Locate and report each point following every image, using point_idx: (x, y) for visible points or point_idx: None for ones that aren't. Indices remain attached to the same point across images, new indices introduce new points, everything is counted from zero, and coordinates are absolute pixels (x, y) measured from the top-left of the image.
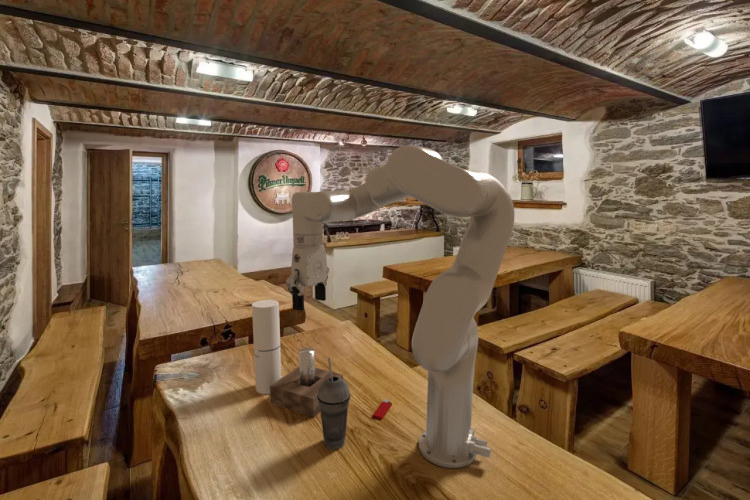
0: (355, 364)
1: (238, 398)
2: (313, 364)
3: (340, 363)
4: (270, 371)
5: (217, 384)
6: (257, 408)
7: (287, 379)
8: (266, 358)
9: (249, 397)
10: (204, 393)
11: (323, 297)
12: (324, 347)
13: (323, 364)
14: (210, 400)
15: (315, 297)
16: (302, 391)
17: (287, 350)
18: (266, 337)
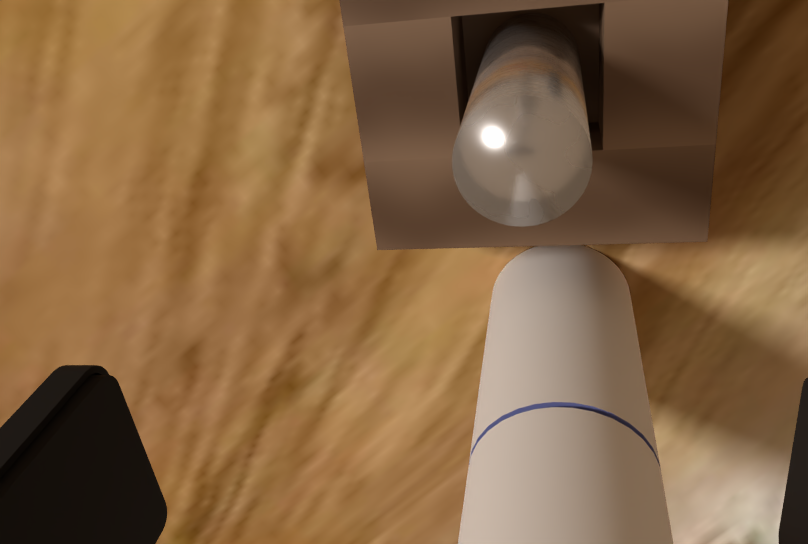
0: (59, 52)
1: (719, 356)
2: (519, 64)
3: (117, 141)
4: (611, 327)
5: None
6: (762, 216)
7: (589, 201)
8: (635, 398)
9: (687, 319)
10: (749, 501)
11: (81, 416)
12: (56, 330)
13: (194, 218)
14: (791, 444)
15: (152, 536)
16: (679, 7)
17: (216, 457)
18: (648, 516)
